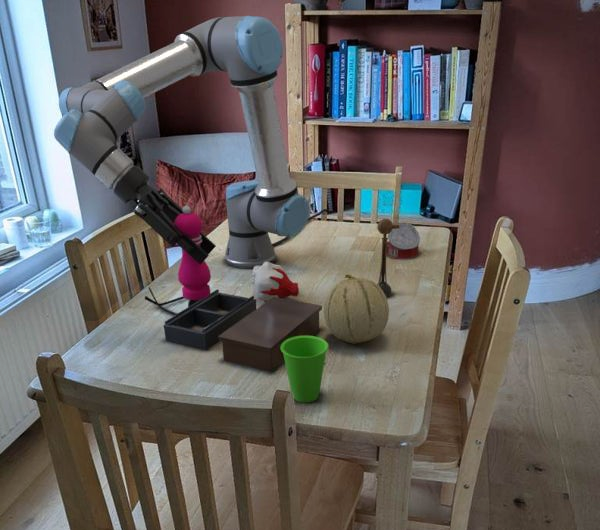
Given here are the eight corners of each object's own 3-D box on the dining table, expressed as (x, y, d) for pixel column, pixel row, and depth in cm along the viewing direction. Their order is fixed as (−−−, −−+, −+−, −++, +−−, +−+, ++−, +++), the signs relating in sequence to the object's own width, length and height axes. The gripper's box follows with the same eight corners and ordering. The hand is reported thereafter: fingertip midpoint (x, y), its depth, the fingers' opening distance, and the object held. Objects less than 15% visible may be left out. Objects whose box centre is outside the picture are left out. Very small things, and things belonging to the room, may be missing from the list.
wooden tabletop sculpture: (394, 290, 170) (398, 215, 160) (396, 297, 166) (400, 221, 156) (372, 291, 170) (374, 216, 160) (373, 298, 166) (376, 221, 156)
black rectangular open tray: (218, 306, 164) (217, 288, 162) (256, 314, 160) (255, 295, 157) (165, 340, 148) (162, 321, 145) (206, 350, 143) (204, 330, 141)
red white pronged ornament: (254, 286, 174) (306, 298, 171) (237, 302, 165) (292, 315, 161) (256, 255, 169) (309, 267, 166) (239, 269, 160) (295, 282, 156)
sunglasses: (155, 295, 172) (152, 277, 170) (208, 294, 171) (206, 277, 169) (138, 320, 158) (135, 302, 155) (196, 320, 157) (194, 302, 154)
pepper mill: (206, 301, 141) (196, 211, 130) (175, 300, 142) (163, 210, 132) (216, 289, 147) (207, 201, 136) (187, 288, 148) (176, 200, 138)
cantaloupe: (370, 360, 137) (372, 295, 129) (311, 345, 144) (310, 282, 136) (398, 334, 148) (402, 272, 140) (343, 321, 155) (343, 261, 147)
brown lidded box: (274, 319, 157) (273, 296, 153) (322, 328, 151) (322, 305, 148) (220, 361, 139) (217, 336, 135) (272, 373, 133) (270, 347, 130)
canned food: (414, 264, 200) (432, 238, 194) (401, 271, 193) (419, 244, 186) (387, 243, 203) (404, 216, 197) (373, 248, 195) (390, 221, 189)
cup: (281, 385, 129) (278, 336, 123) (325, 382, 129) (325, 334, 124) (284, 409, 121) (281, 358, 115) (331, 406, 122) (331, 355, 116)
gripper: (129, 180, 142) (208, 252, 149) (96, 202, 127) (185, 282, 133) (148, 155, 139) (228, 230, 145) (116, 174, 123) (207, 258, 130)
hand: (208, 255), depth 139 cm, fingers closed on pepper mill, 5 cm apart
